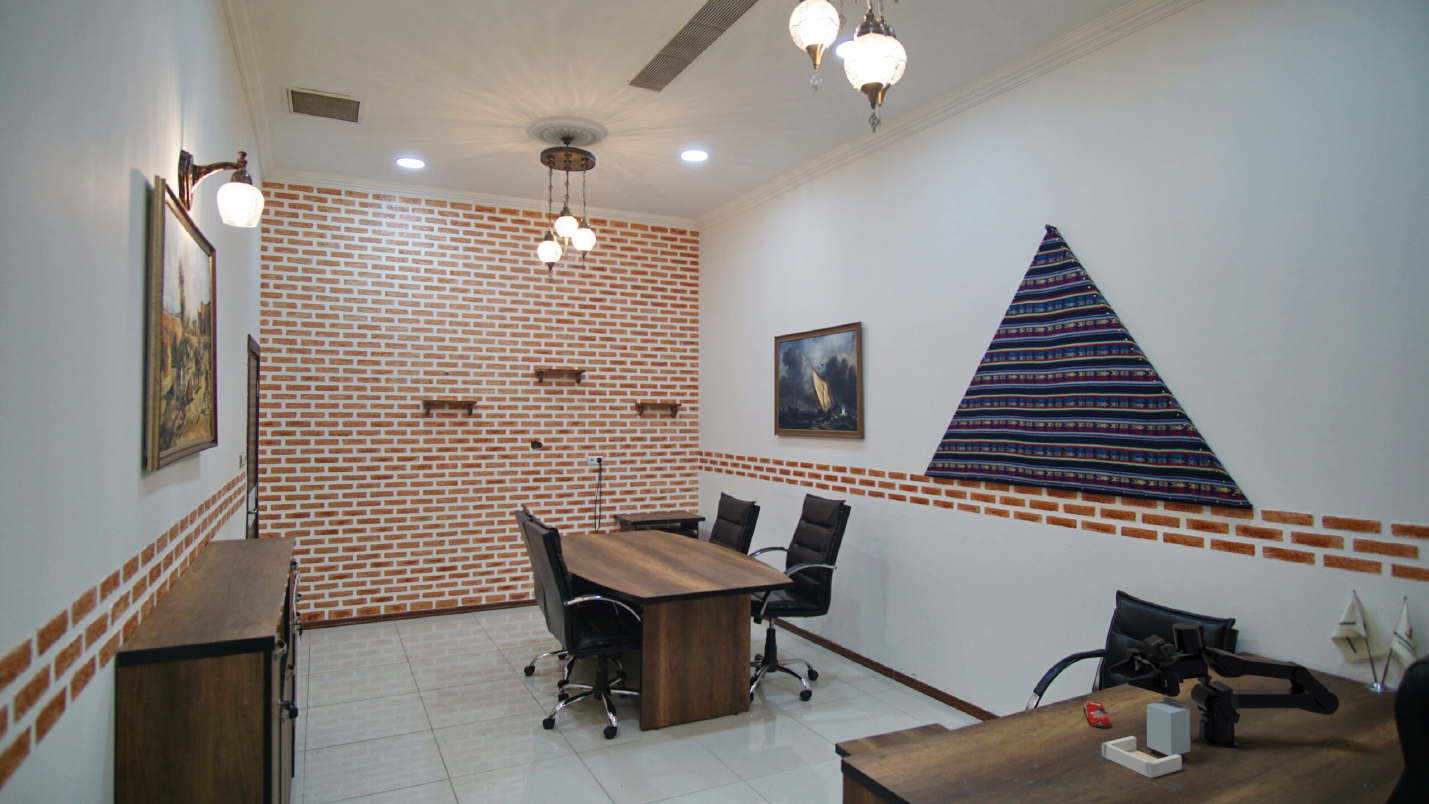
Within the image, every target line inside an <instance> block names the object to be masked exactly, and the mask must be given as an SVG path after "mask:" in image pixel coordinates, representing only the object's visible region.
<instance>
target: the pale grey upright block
mask: <svg viewBox="0 0 1429 804" xmlns="http://www.w3.org/2000/svg"><path fill="white" fill-rule="evenodd" d="M1190 719H1191V709H1190V708H1189V704H1188V703H1185V702H1183V701H1179V700H1177V699H1174V698H1172V697H1168V696H1163V697H1162V700H1161V701H1157V702H1153V703H1149V704H1146V747H1148V751H1149V752H1151V753H1154V754H1155V753H1156V752H1157V751H1158V752H1159V753H1162V754H1164V755H1167V756H1171V755H1175V754H1177V755H1180V756H1182V757H1183V758H1188V757H1189V754H1190V752H1191V720H1190Z"/></svg>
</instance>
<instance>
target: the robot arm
mask: <svg viewBox="0 0 1429 804" xmlns="http://www.w3.org/2000/svg"><path fill="white" fill-rule="evenodd" d="M1172 632H1173V637H1174V643H1175V645H1173V644H1171V643H1167V642H1166V641H1165V640H1164V639H1163V638H1162V637H1159V636H1158V635H1156V634H1152V635H1150V636H1148V637H1147V638H1144V639H1143V640H1142V642H1143V644H1144V645H1145V646H1146V648H1147V650H1148V652H1149V653H1150V654H1147V655H1146V654H1145V653H1143V652H1142V651H1141V650H1139V649H1137V648H1135V647H1132V648H1127V649H1126V653H1125V654H1126V656H1125V658H1124V659H1122V660H1121V661H1119V662H1117V663H1115V664H1113V665H1111V666H1109V667H1108V671H1109V672H1110V673H1113V674H1117V675H1124V676H1130V677H1133V678H1129V679H1127V684H1128V685H1129V686H1132V687H1135V688H1138V689H1141V690H1144V691H1145V690H1146V691H1149V692H1153V693H1155V694H1159V695H1162V696H1166V697H1168V698H1175V697H1178V696H1179V694H1180V693H1181V689H1180V684H1184V683H1185V681H1184V680H1192V679H1197V682H1199V683H1196V684H1194V686H1193V687H1192V689H1191V691H1190V697H1191V700H1192V702H1193V703H1194V704H1195V705H1196V707H1197V710H1198V711H1200V712H1202V713H1201V714H1200V718H1201V719H1199V721H1198V722H1199V726H1198V727H1199V731H1198V733H1197V736H1198V737H1200V739H1202V740H1203V741H1205V742H1206V743H1207V744H1208V745H1210V746H1212V747H1230V748H1232V747H1233V748H1238V747H1239V744H1238V743H1237V742H1236V741H1235V724H1238V723H1239V720H1240V717H1241V715H1240V713H1238V712H1237V710H1240V709H1299V710H1303V711H1305V712H1311V713H1314V714H1319V715H1324V716H1332V715H1334V714H1335V713H1336V711H1337V710H1338V708H1339V705H1340V701H1339V698H1338V695H1336V694H1335V692H1333V691H1330V690H1328V688H1327V687H1326V686H1325V685H1324V684H1322V683H1321V682H1320V681H1319V680H1318V679H1317V678H1315V676H1314V675H1313V674H1312V673H1311V672H1310V670H1309V669H1308V668H1307V667H1306V666H1303V665H1302V664H1299V663H1297V662H1294V661H1292V660H1291V661H1284V660H1283V661H1282V660H1275V659H1266V658H1257V657H1248V656H1241V655H1238V654H1234V653H1231V652H1229V651H1225V650H1222V649H1218V648H1215V647H1209V646H1207V645H1206V639H1205V628H1204V625H1202V624H1200V623H1195V624H1194V623H1189V622H1188V623H1187V622H1186V623H1185V622H1184V623H1183V622H1177V623H1173V624H1172ZM1177 650H1179V651H1180V652H1181V653H1182V654H1181V655H1175V654H1176V652H1177ZM1146 656H1147V657H1148V658H1146ZM1147 659H1148V660H1149V661H1148V660H1147ZM1209 671H1210V672H1211V673H1212V672H1213V673H1214V674H1215V675H1218V676H1219V677H1221V678H1225V679H1232V678H1242V677H1243V676H1255V677H1263V678H1271V679H1282V680H1287V681H1288V683H1289V685H1290V687H1289V688H1269V689H1268V688H1265V689H1264V688H1263V689H1262V688H1255V689H1253V688H1250V689H1249V688H1248V689H1247V688H1246V689H1243V688H1240V689H1239V688H1236V689H1235V688H1232V687H1231V686H1229V685H1227V684H1225V683H1224V682H1221V680H1213V681H1211V680H1212V679H1213V676H1212V675H1210V673H1209Z"/></svg>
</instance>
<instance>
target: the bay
mask: <svg viewBox="0 0 1429 804" xmlns="http://www.w3.org/2000/svg"><path fill="white" fill-rule="evenodd" d="M1101 757H1103V758H1105V759H1107V760H1109V761H1112V762H1113V763H1116V764H1119V765H1121V766H1123V767H1124V768H1127V769H1129V770H1132V771H1134V772H1136V773H1138V774H1141V775H1142V776H1144V777H1147V778H1149V779H1153V778H1157V777H1160V776H1165V775H1168V774H1170V773H1174V772H1177V771H1181V770H1183V769H1182V765H1183V764H1182V761H1183V760H1182V759H1183V758H1182V757H1183V756H1181V754H1178V755H1177V754H1175V755H1171V756H1169V755H1167V756H1164V757H1161V758H1156V757H1154V756H1151V755H1149V754H1147V753H1144V752H1143V751H1140V750H1137V737H1136V736H1133V735H1131V736H1126V737H1122V738H1118V739H1114V740H1113V739H1112V740H1110V741H1106V742H1102V743H1101Z"/></svg>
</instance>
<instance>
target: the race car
mask: <svg viewBox="0 0 1429 804" xmlns="http://www.w3.org/2000/svg"><path fill="white" fill-rule="evenodd" d="M1083 713H1084V716H1085V718H1086V721H1087V723H1089V724H1088V725H1089V726H1093V727H1098V728H1110V727H1111V720H1110V717H1109V715H1108V714H1109V712H1108V711H1106V710H1105V707H1104V705H1103V704H1102V703H1101V702H1100V701H1099V702H1098V701H1090V700H1087V701H1085V702H1084V703H1083Z"/></svg>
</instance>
